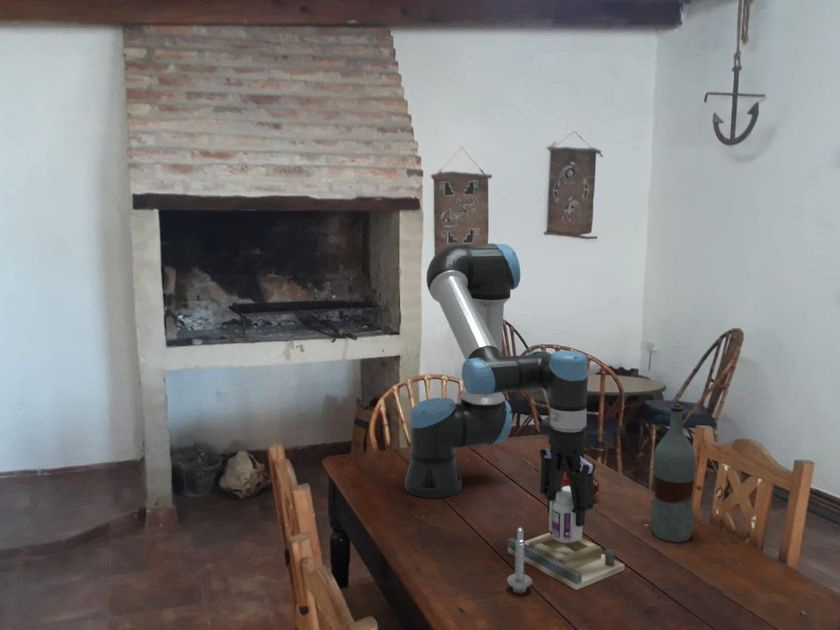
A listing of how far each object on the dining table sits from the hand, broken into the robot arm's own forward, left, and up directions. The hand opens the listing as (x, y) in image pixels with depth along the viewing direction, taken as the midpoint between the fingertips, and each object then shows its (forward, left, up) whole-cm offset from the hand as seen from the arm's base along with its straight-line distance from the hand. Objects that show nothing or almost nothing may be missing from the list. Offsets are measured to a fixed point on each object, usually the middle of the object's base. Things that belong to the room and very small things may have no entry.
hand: (565, 534), depth 159 cm
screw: (+3, -16, -6) cm, 17 cm away
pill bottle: (0, 0, -1) cm, 1 cm away
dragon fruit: (-23, +29, -6) cm, 38 cm away
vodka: (+5, +29, -6) cm, 30 cm away
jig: (0, 0, -6) cm, 6 cm away
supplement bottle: (-13, +15, -6) cm, 21 cm away
